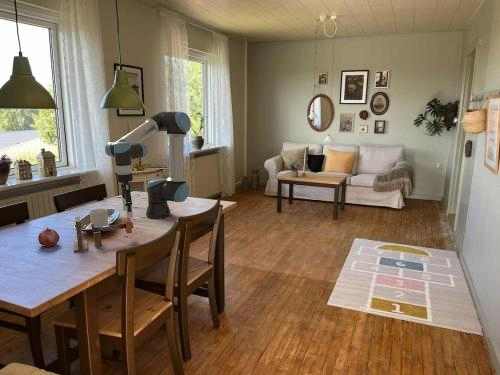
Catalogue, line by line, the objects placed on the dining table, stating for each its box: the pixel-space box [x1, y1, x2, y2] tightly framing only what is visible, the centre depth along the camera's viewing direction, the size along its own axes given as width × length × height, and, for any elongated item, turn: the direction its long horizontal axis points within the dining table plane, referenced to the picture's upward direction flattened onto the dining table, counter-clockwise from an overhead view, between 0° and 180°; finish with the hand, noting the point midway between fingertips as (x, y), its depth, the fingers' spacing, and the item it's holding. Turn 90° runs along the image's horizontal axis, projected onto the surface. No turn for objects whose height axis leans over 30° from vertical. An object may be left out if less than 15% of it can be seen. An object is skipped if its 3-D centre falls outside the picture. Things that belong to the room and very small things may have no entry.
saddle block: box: [93, 232, 102, 248], centre depth 184 cm, size 3×5×6 cm, turn 25°
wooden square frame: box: [73, 216, 89, 253], centre depth 179 cm, size 6×12×14 cm, turn 25°
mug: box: [89, 208, 109, 229], centre depth 206 cm, size 12×9×11 cm
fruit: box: [37, 227, 60, 248], centre depth 182 cm, size 9×10×10 cm
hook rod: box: [90, 217, 134, 234], centre depth 186 cm, size 19×6×7 cm, turn 115°
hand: (128, 213), depth 188 cm, fingers open, 13 cm apart
